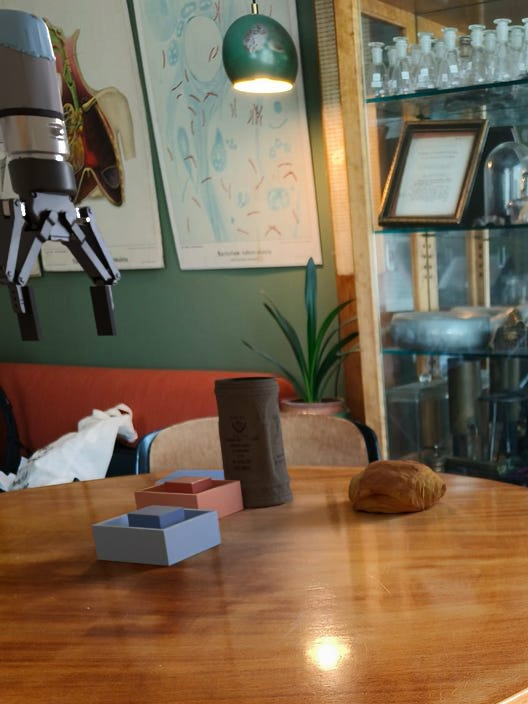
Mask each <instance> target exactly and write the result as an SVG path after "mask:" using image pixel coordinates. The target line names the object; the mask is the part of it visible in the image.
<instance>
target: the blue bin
mask: <svg viewBox="0 0 528 704" xmlns="http://www.w3.org/2000/svg"><path fill="white" fill-rule="evenodd" d="M183 509H184V508H183ZM184 516H185V521H184V522H181V523H178V524H175V525H173V526H170V527H167V528H165V529H153V528H139V527H129V522H128V516H127V513H124V514H121V515H118V516H115V517H112V518H108V519H106V520H102V521H100V522H96V523H93V524H91V525H90V527H91V532H92V537H93V542H94V547H95V554H96V559H97V561H107V562H108V561H109V562H118V563H119V562H121V563H133V564H142V565H152V566H153V565H154V566H165V567H170V566H173V565H175V564H177V563H179V562H182V561H184V560H186V559H188V558H190V557H193V556H195V555H197V554H200V553H202V552H206V551H207V550H210V549H211V548H214V547H216V546H218V545H221V544H222V539H221V532H220V524H219V519H218V516H217V511H215V510H200V509H184Z"/></svg>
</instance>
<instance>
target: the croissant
mask: <svg viewBox="0 0 528 704" xmlns="http://www.w3.org/2000/svg"><path fill="white" fill-rule="evenodd" d="M446 493H447V484H445V481H444V480H443V478H441V477H440V476H439V475H438V474H437V473H436V472H435V471H433V470H432V468H430V467H429V466H428V465H426V464H424V463H421V462H418V461H416V460H407V459H399V460H398V459H397V460H395V459H389V460H388V459H385V460H383V459H382V460H379V459H377V460H374V461H371V462H369V463H368V465H367V466H366V467H365V468H364V469H363V470H361V471H360V472H359V473H357V474H355V475H353V476H352V477H351V479H350V481H349V485H348V493H347V494H348V500H349V501H350V503H352V504H353V505H354V508H355V510H357V511H364V512H368V513H385V514H399V513H405V512H409V513H410V512H413V513H415V512H419V511H421V510H422V511H424V510H425V509H427V508H430V507H433V506H435V505H437V504H438V503H440V502H441V501H442V499H443V497H444V496H445V495H446Z"/></svg>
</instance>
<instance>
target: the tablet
mask: <svg viewBox="0 0 528 704" xmlns="http://www.w3.org/2000/svg"><path fill="white" fill-rule="evenodd" d="M182 476H198V477H211V479H218V480H225V479H224V470H223V469H178V470H175V471H173V472H171V473H170V474H168V475H166V476H164V477H162V478H161V479H159V480H157V481H155V482H154V485H158V484H161V483H164V482H166V481H169V480H172V479H176V478H179V477H182Z"/></svg>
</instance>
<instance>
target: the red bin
mask: <svg viewBox="0 0 528 704" xmlns="http://www.w3.org/2000/svg"><path fill="white" fill-rule="evenodd" d="M212 486H213V489H210V490H207V491H204V492H201V493H198V494H181V493H166V491H165V484H164V483H161V484H158V485H155V484H154V485H152V486H148V487H145V488H141V489H138V490H135V491H133V495H134V502H135V506H136V510H139V509H142V508H145V507H148V506H151V505H157V506H173V507H183V508H184V509H200V510H215V511H217V516H218V520H219V519H223V518H224V517H227V516H230V515H232V514H235V513H238V512H240V511H242V510H244V508H243V502H242V493H241V485H240V481H238V480H237V481H236V480H218V479H212Z"/></svg>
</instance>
